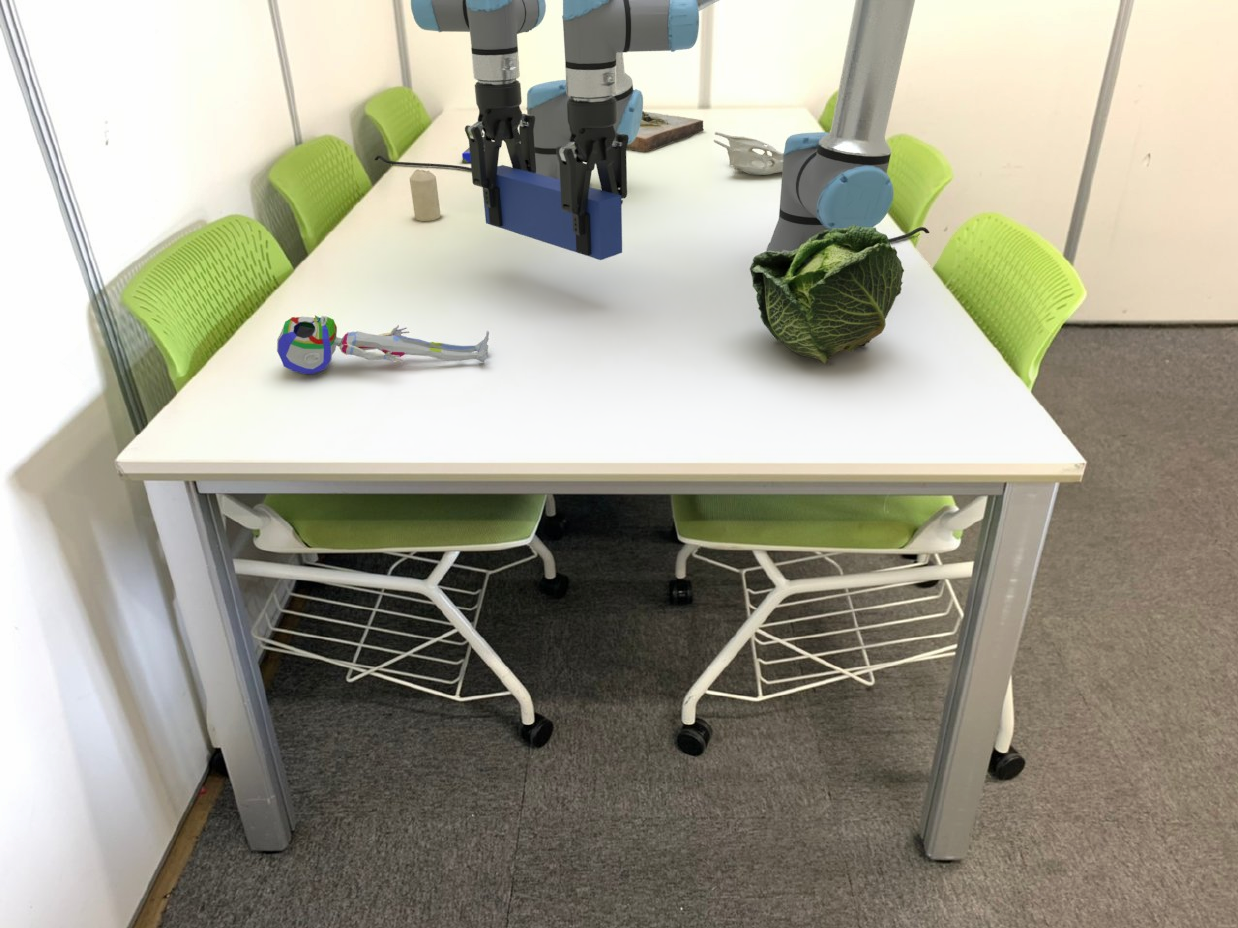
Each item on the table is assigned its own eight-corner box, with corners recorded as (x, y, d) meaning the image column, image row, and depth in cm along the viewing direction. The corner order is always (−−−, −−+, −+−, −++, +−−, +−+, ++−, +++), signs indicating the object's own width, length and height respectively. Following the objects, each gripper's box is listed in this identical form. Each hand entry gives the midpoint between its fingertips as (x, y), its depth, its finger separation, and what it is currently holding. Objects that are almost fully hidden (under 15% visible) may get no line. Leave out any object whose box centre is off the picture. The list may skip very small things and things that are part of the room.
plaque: (647, 125, 237) (559, 112, 252) (647, 153, 241) (560, 139, 256) (706, 107, 258) (622, 97, 273) (705, 133, 262) (622, 121, 277)
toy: (488, 343, 128) (268, 326, 123) (485, 396, 132) (272, 381, 127) (490, 315, 136) (284, 298, 132) (486, 366, 141) (287, 351, 136)
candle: (445, 214, 196) (439, 168, 191) (432, 222, 192) (426, 174, 186) (423, 212, 198) (416, 166, 192) (410, 220, 193) (403, 172, 188)
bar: (485, 223, 160) (480, 170, 155) (507, 217, 163) (502, 165, 158) (600, 260, 143) (599, 202, 138) (622, 252, 146) (621, 195, 141)
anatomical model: (715, 128, 226) (816, 127, 222) (715, 166, 231) (813, 165, 227) (712, 142, 213) (818, 141, 210) (711, 181, 218) (815, 181, 215)
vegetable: (780, 374, 144) (722, 268, 136) (876, 307, 145) (825, 198, 137) (841, 402, 125) (779, 281, 118) (951, 325, 127) (897, 200, 119)
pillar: (488, 137, 250) (469, 154, 234) (489, 145, 251) (470, 162, 235) (480, 137, 251) (461, 154, 234) (481, 145, 252) (462, 162, 235)
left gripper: (467, 91, 139) (481, 237, 152) (553, 76, 150) (560, 213, 163) (438, 85, 144) (455, 228, 156) (524, 71, 155) (533, 205, 167)
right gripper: (564, 109, 126) (571, 268, 139) (650, 91, 137) (650, 240, 149) (529, 103, 131) (539, 257, 143) (615, 86, 141) (618, 231, 154)
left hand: (508, 220), depth 159 cm, fingers closed on bar, 5 cm apart
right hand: (596, 248), depth 146 cm, fingers closed on bar, 5 cm apart
